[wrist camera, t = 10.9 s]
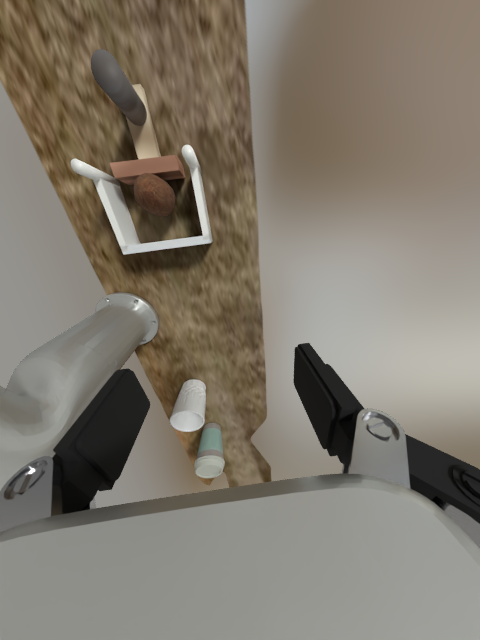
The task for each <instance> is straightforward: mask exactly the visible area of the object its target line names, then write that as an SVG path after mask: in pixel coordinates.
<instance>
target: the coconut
mask: <svg viewBox="0 0 480 640" xmlns="http://www.w3.org/2000/svg"><path fill="white" fill-rule="evenodd" d="M134 197H135V199H136V201H137V203H138V204H139V205H140V206H141V207H142V208H143V209H145V210H146V211H147V212H149V213H152V214H154V215H158V216H167V215H169V214H170V213H171V212H172V211H173V209H174V207H175V194H174V191H173V189H172V188H171V187H170V186H169V184H168V183H167V182H166V181H164V180H163V179H161V178H160V177H158V176H156V175H154V174H149V173H144V174H141V175H140V176H139V177H138V178H137V179H136V180H135V183H134Z"/></svg>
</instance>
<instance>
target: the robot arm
mask: <svg viewBox="0 0 480 640" xmlns="http://www.w3.org/2000/svg"><path fill="white" fill-rule="evenodd" d="M137 300H138V301H137ZM158 328H159V319H158V316H157V314H156V312H155V310H154V309H153V307H152V306H151V305H150V304H149V303H148V302H146V301H145V300H144V299H142V298H140V297H138V296H136V295H133V294H130V293H122V292H118V293H113V294H110V295H107V296H105V297H104V298H102V299H101V300H100V301H99V302H98V304H97V306H96V309H95V313H94V314H93V315H91V316H89V317H88V318H86V319H84V320H83V321H81V322H80V323H78V324H76V325H75V326H73V327H71V328H70V329H68V330H67V331H65V332H63V333H62V334H60V335H59V336H57V337H55V338H54V339H52V340H50V341H49V342H47V343H46V344H44V345H42V346H41V347H39V348H37V349H36V350H34V351H33V352H31V353H30V354H29V355H27V356H26V357H25V358H24V359H23V360H22V361H21V362H20V364H19V365H18V366H17V368H16V369H15V371H14V372H13V374H12V376H11V378H10V381H9V383H8V385H7V388H6V389H5V388H3V387H1V386H0V640H480V470H479V469H478V468H476V467H474V466H472V465H470V464H467V463H466V462H463V461H461V460H459V459H457V458H455V457H453V456H451V455H449V454H446V453H444V452H442V451H440V450H438V449H436V448H434V447H431V446H429V445H427V444H425V443H423V442H421V441H418V440H416V439H414V438H412V437H410V436H408V435H406V434H405V433H404V430H403V429H402V427H401V426H400V424H399V423H398V422H397V421H396V420H395V419H394V418H392V417H391V416H389V415H388V414H386V413H384V412H382V411H379V410H376V409H364V408H363V406H362V405H361V404H360V403H359V402H358V400H357V399H356V398H355V396H354V395H353V394H352V392H351V391H350V390H349V389H348V387H347V386H346V385H345V384H344V382H343V381H342V380H341V378H340V377H339V376H338V375H337V374H336V372H335V371H334V370H333V368H332V367H331V366H330V365H328V364H325V363H324V362H323V361H322V360H321V358H320V357H319V356H318V354H317V353H316V352H315V350H314V349H313V348H312V346H311V345H310V344H309V343H305V344H299V345H298V347H296V348H295V359H294V360H295V361H294V385H295V388H296V390H297V392H298V395H299V397H300V399H301V401H302V404H303V406H304V408H305V410H306V412H307V415H308V417H309V419H310V421H311V424H312V426H313V428H314V430H315V432H316V435H317V437H318V439H319V441H320V444H321V445H322V447H323V449H327V451H328V453H329V455H330V456H336V455H337V456H338V458H339V460H340V462H341V463H343V469H342V474H330V475H319V476H311V477H303V478H295V479H287V480H280V481H273V482H266V483H259V484H252V485H245V486H239V487H232V488H226V489H219V490H212V491H205V492H199V493H192V494H185V495H179V496H172V497H166V498H159V499H153V500H147V501H140V502H134V503H127V504H121V505H115V506H109V507H102V508H96V502H95V495H96V493H97V491H98V490H99V491H103V490H111V489H112V487H113V485H114V483H115V481H116V480H117V479H118V478H119V477H120V475H121V472H122V470H123V468H124V465H125V463H126V461H127V459H128V456H129V454H130V452H131V449H132V447H133V445H134V442H135V440H136V438H137V435H138V433H139V431H140V429H141V426H142V424H143V422H144V419H145V417H146V415H147V412H148V410H149V408H150V402H149V400H148V398H147V396H146V394H145V392H144V390H143V389H142V387H141V385H140V383H139V381H138V379H137V378H136V376H135V374H134V372H133V371H131V370H130V369H122V370H120V369H121V367H122V366H123V365H124V363H125V362H126V361H127V359H128V358H129V357H130V356H131V354H132V353H133V352H134V350H135V349H136V348H137V347H138V345H142V344H145V343H147V342H149V341H150V340H152V339H153V338H154V336H155V335H156V333H157V331H158Z"/></svg>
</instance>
